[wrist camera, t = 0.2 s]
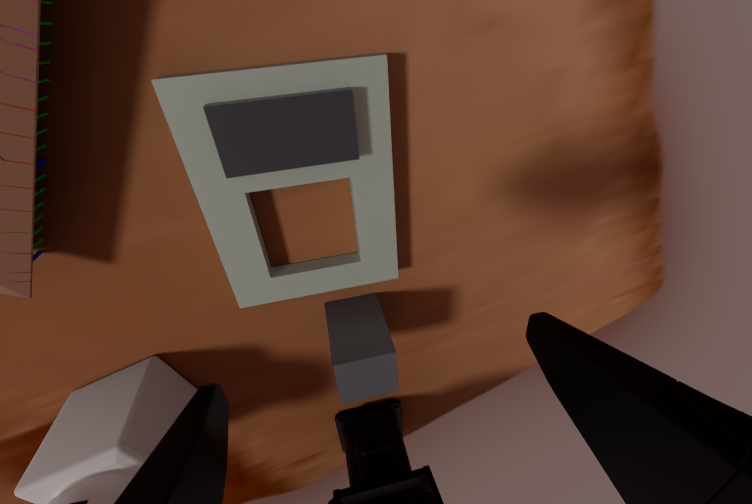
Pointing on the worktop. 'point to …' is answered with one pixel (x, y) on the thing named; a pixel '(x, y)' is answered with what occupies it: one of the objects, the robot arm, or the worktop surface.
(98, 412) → the medicine bottle
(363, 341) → the block
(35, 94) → the house
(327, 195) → the worktop surface
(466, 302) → the worktop surface
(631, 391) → the robot arm
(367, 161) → the plate
